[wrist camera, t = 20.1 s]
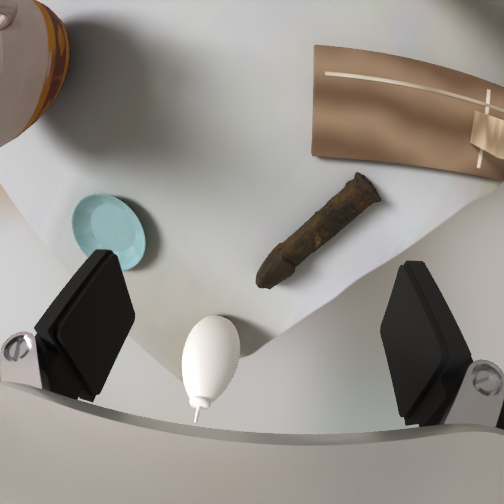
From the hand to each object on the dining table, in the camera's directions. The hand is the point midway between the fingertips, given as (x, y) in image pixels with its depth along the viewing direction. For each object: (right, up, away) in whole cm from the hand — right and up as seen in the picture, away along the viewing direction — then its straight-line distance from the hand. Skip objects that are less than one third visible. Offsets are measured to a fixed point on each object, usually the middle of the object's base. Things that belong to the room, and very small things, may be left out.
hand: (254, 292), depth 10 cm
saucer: (-19, +5, +31) cm, 37 cm away
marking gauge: (+27, +15, +17) cm, 35 cm away
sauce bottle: (-5, -9, +38) cm, 39 cm away
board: (+19, +17, +19) cm, 32 cm away
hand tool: (+7, +4, +28) cm, 30 cm away
